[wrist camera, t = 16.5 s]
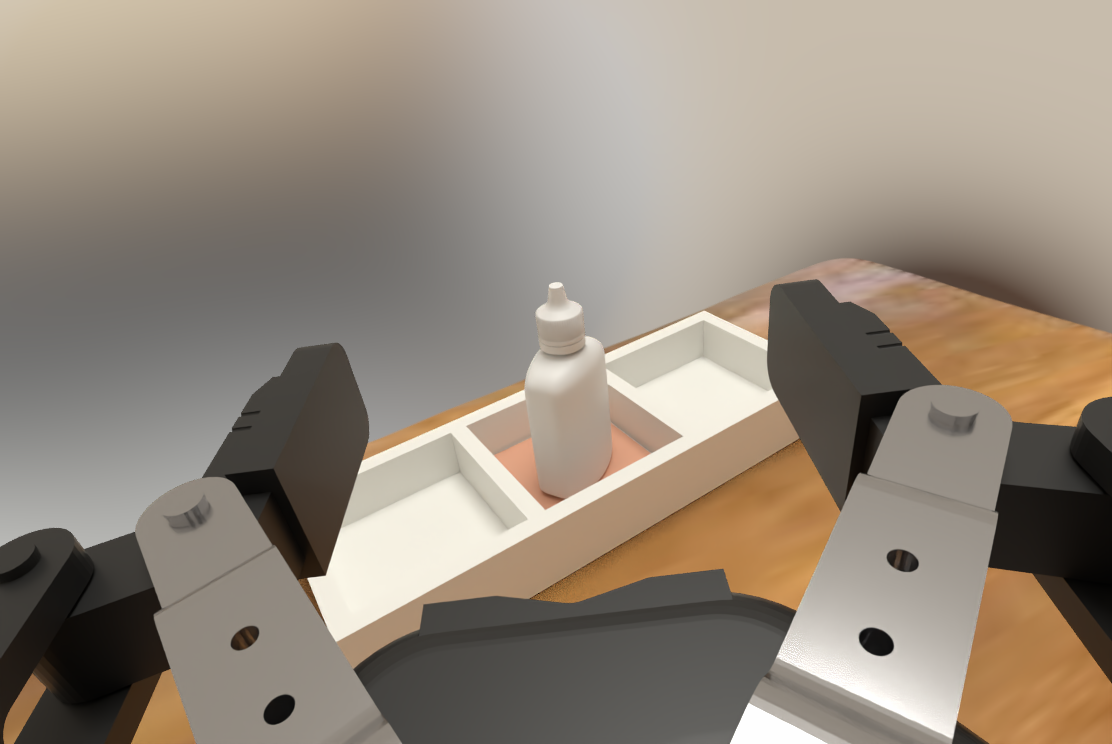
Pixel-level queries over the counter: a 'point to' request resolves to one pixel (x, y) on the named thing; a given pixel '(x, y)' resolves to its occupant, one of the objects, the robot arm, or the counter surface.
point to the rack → (516, 498)
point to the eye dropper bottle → (567, 400)
